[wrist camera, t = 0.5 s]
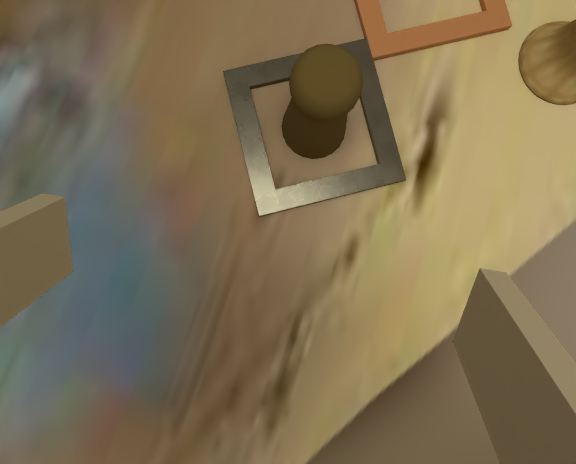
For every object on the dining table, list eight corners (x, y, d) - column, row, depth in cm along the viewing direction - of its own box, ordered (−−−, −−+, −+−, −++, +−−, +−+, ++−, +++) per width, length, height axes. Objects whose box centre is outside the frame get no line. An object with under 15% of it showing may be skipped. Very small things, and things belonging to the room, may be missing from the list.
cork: (308, 83, 38) (321, 10, 27) (358, 122, 38) (391, 65, 27) (268, 132, 37) (265, 78, 26) (319, 171, 37) (337, 133, 26)
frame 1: (224, 74, 37) (223, 71, 37) (365, 41, 38) (367, 38, 37) (259, 216, 37) (259, 215, 36) (404, 180, 37) (406, 179, 37)
